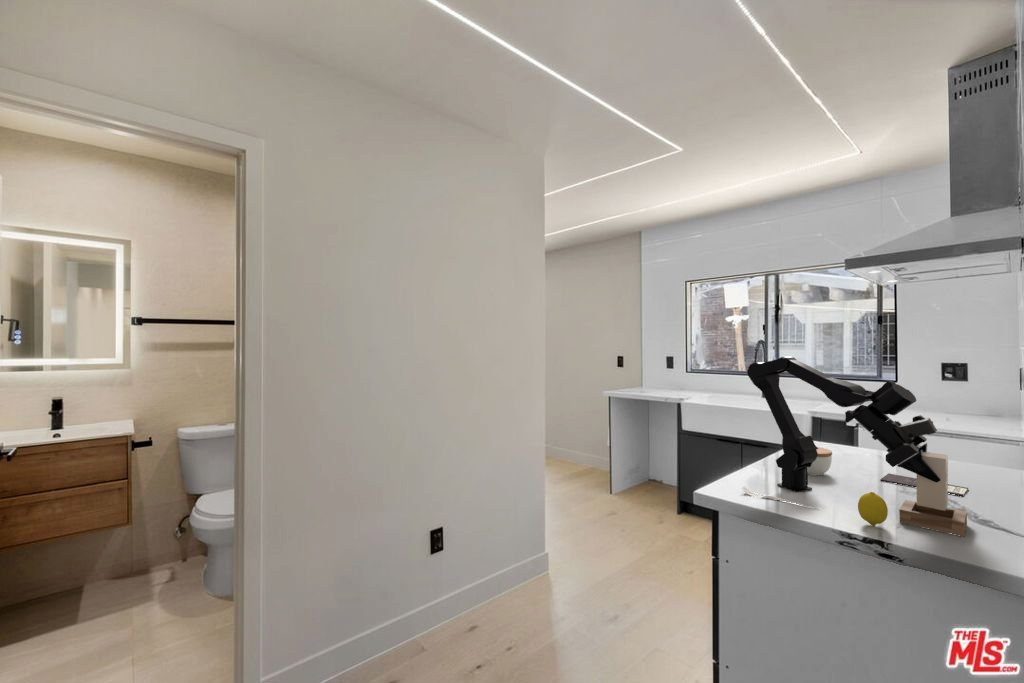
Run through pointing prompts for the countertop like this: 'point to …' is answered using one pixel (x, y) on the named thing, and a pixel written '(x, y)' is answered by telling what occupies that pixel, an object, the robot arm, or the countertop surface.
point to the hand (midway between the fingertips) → (939, 478)
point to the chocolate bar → (913, 482)
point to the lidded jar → (821, 462)
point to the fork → (771, 497)
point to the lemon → (872, 508)
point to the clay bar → (934, 483)
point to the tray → (934, 518)
